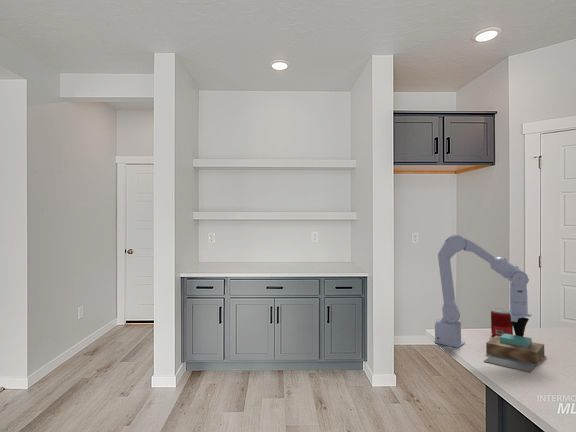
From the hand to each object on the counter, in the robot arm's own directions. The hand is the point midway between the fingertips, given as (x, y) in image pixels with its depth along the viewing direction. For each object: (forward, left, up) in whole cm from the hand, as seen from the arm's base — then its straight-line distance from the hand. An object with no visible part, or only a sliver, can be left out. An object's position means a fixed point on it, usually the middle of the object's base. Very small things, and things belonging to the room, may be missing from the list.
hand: (519, 337), depth 144 cm
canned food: (-10, +14, -5) cm, 18 cm away
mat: (+1, -18, -5) cm, 18 cm away
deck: (0, -7, -5) cm, 8 cm away
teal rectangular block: (0, -6, -1) cm, 6 cm away
